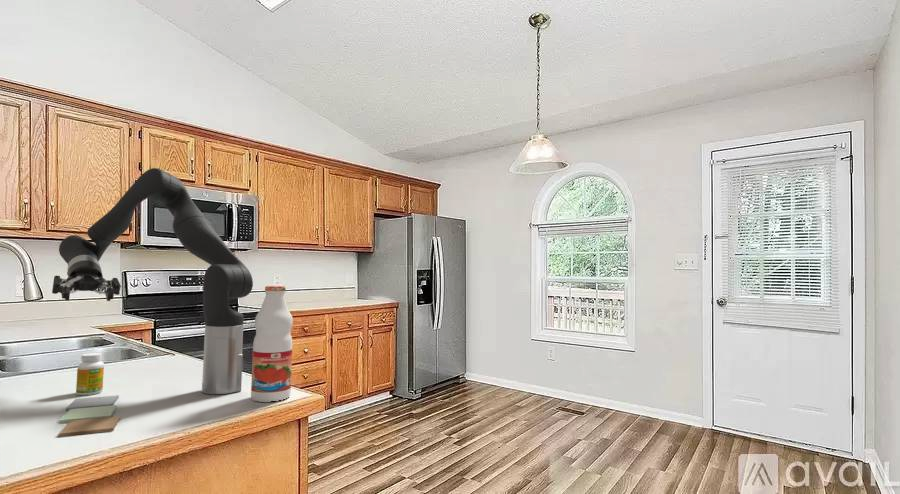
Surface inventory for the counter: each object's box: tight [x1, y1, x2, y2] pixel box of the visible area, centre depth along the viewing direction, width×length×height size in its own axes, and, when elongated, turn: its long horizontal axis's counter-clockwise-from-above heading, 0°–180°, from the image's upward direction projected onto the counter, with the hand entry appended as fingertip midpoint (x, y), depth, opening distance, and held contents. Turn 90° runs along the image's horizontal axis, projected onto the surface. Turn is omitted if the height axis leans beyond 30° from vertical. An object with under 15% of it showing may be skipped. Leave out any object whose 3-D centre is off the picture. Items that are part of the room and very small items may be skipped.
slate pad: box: [65, 394, 120, 412], centre depth 112 cm, size 8×8×1 cm
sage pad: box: [59, 404, 118, 424], centre depth 104 cm, size 8×8×1 cm
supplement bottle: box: [75, 352, 105, 396], centre depth 121 cm, size 5×5×10 cm
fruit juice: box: [250, 285, 294, 403], centre depth 121 cm, size 9×9×28 cm
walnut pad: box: [58, 415, 121, 438], centre depth 96 cm, size 8×8×1 cm
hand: (89, 297), depth 122 cm, fingers open, 8 cm apart
